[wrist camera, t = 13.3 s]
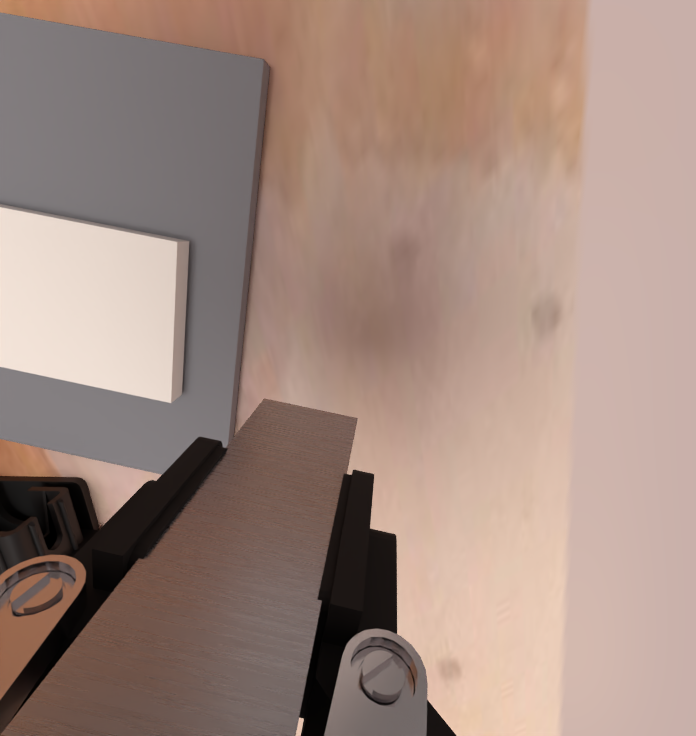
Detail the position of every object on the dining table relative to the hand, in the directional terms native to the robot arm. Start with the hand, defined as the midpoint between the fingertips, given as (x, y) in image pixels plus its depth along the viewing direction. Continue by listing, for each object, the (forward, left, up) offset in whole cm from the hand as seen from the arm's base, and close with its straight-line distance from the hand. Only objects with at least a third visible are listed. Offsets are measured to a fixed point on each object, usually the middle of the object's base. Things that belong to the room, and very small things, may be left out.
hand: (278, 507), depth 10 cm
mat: (-1, -15, -15) cm, 21 cm away
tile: (-4, -15, -13) cm, 20 cm away
